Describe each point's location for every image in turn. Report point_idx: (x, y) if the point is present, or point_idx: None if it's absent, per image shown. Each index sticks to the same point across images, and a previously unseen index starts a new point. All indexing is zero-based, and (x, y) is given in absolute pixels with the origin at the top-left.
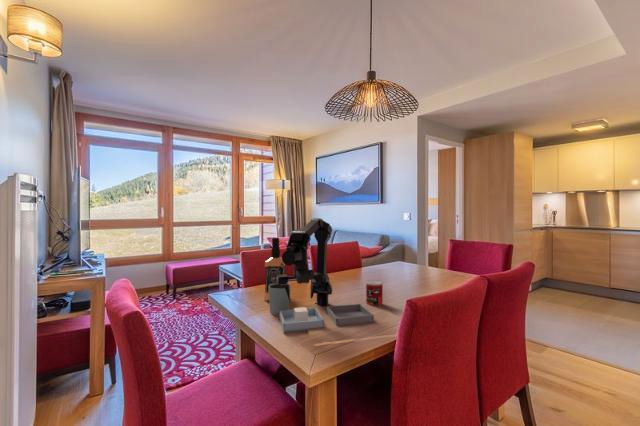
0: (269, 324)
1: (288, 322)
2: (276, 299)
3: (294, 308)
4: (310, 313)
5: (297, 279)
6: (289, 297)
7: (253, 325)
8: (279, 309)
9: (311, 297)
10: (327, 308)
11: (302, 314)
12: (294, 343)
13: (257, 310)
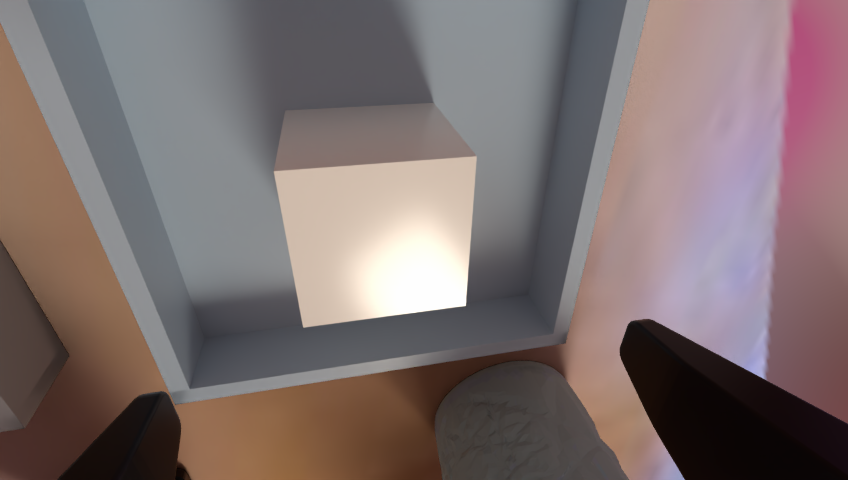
0: (642, 192)
1: (496, 173)
2: (601, 474)
3: (461, 293)
4: (248, 339)
5: None
6: (684, 350)
7: (754, 191)
8: (532, 393)
9: (149, 408)
10: (12, 393)
11: (364, 148)
12: None
13: (628, 421)
